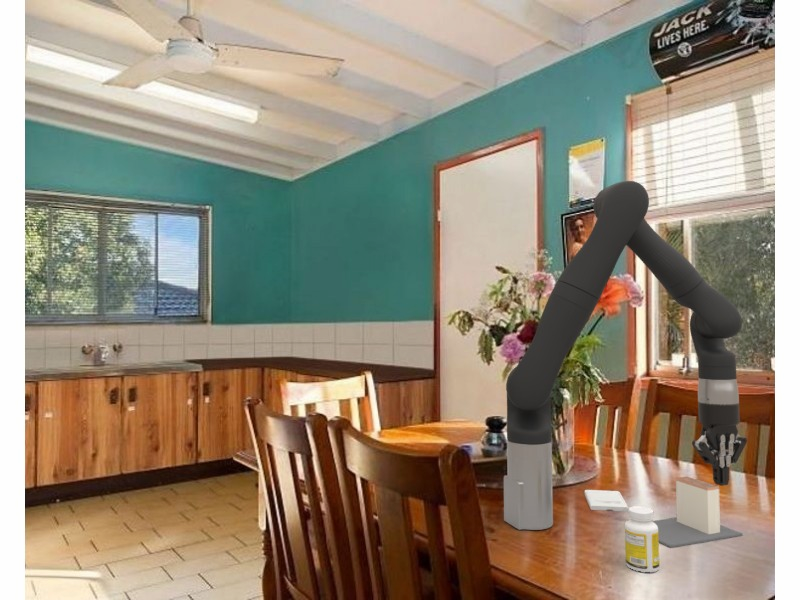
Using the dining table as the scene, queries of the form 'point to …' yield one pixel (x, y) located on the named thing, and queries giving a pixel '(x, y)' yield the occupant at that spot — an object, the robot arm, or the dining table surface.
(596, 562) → the dining table surface
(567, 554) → the dining table surface
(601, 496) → the external hard drive
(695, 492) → the slab
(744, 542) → the dining table surface
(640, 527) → the supplement bottle
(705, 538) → the mat
